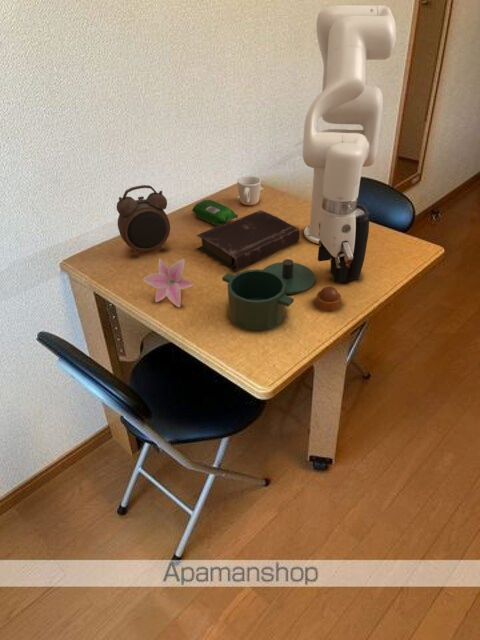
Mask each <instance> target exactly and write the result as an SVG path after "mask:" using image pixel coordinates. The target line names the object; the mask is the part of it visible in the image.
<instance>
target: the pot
mask: <svg viewBox="0 0 480 640" xmlns="http://www.w3.org/2000/svg"><path fill="white" fill-rule="evenodd" d="M221 280H222V281H223V282H224V283H225V282H226V283H227V305H228V306H227V307H228V316H229V319H230V321H231V322H232V323H233V324H234V326H236V327H238V328H240V329H243V330H246V331H250V332H251V331H252V332H263V331H268V330H271V329H273V328H275V327H277V326H279V325H280V324H281V323H282V321H283V320H284V318H285V313H286V307H287V308H289V307H290V306H291V305H292V304H293V303H294V301H295V298H293V297H292V296H288V295H287V294H286V284H285V281H284V279H283V278H281V277H280V276H279V275H278V274H276V273H273V272H270V271H267V270H263V269H257V268H255V269H247V270H244V271H240V272H238V273H236V274H235V275H234V274H231V273H229V272H227V273H226V274H224V275H223V276H222V277H221Z"/></svg>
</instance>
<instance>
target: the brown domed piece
mask: <svg viewBox="0 0 480 640" xmlns="http://www.w3.org/2000/svg"><path fill="white" fill-rule="evenodd" d="M341 301H342V296H341V294H340V293H339V292H338V290H337V289H336V288H335V287H333V286H325V287H323V288H322V289H320V290H319V291H317V293H316V299H315V305H316V307H317V308H318V309H320V310H322V311H325V312H334V311H336V310H338V309H339V308H340V307H341Z"/></svg>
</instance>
